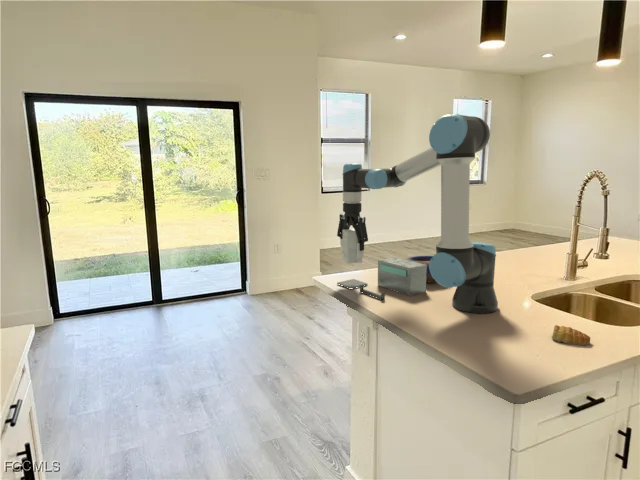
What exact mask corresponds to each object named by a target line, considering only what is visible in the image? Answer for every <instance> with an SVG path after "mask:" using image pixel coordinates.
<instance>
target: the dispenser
mask: <svg viewBox="0 0 640 480" xmlns="http://www.w3.org/2000/svg"><path fill="white" fill-rule="evenodd" d="M426 273H427V265H426V264H421V263H417V262H413V261H409V260H406V259H403V258H399V257H394V256H392V257H386V258H382V259H381V258H380V259H378V260H377V286H378V285H380V286H383V287H386V288H389V289H388V290H390V289H392V290H391V291H393V290H395V291H394V292H396V291H398V292H397V293H399V292H400V294H402V293H404V294H403V295H405V294H406V295H405V296H408V295H409V297H412V296H411V295H413V296H416V295H419V293H420V294H423V293H426V292H427V282H426ZM380 286H379V287H380ZM383 287H382V288H383ZM386 288H385V289H386ZM360 292H363V293H366V294H368V295H371V296H374V297H377V298H379V299H378V300H380V299H381V300H380V301H382V300H384V301H385V300H386V296H385V295H386V291H380V293H377V292H374V291H371V290H368V289H365V288H364V287H363V285H360V288H359V293H360ZM422 292H423V293H422ZM363 293H362V294H363ZM366 294H365V295H366ZM415 294H416V295H415ZM368 295H367V296H368ZM371 296H370V297H371ZM374 297H373V298H374ZM377 298H376V299H377Z"/></svg>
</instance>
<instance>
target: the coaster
mask: <svg viewBox="0 0 640 480" xmlns="http://www.w3.org/2000/svg"><path fill="white" fill-rule="evenodd" d="M337 284H340V285H343V286H345V287H348V288H356V287H360V285H363V286H364V285H367V286H368V283H367V282H364V281H361V280H358V279H355V278H352V279H347V280H342V281H339V282H338V281H337V283H336V285H337ZM345 287H344V288H345ZM364 287H365V286H364ZM356 289H357V288H356Z"/></svg>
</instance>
